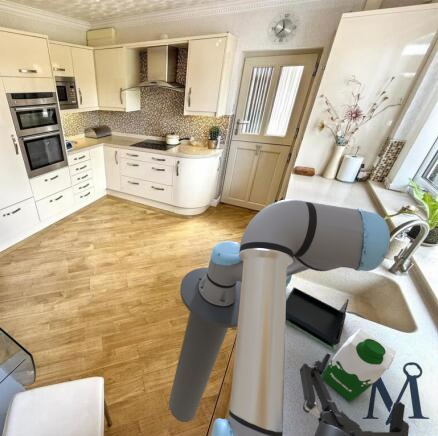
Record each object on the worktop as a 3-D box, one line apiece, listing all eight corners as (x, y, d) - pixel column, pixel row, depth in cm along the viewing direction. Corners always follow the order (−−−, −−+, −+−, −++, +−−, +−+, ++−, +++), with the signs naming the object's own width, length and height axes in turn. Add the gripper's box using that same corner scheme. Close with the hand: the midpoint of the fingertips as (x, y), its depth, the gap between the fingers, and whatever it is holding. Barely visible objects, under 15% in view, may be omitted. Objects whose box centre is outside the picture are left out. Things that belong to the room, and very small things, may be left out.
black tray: (276, 317, 87) (287, 296, 81) (289, 294, 97) (299, 274, 91) (333, 351, 76) (350, 330, 71) (340, 321, 87) (356, 301, 81)
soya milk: (316, 377, 69) (350, 336, 59) (329, 361, 73) (362, 320, 63) (351, 407, 63) (395, 367, 53) (363, 387, 67) (406, 346, 57)
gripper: (262, 407, 52) (297, 348, 64) (418, 556, 36) (424, 439, 49) (273, 390, 48) (308, 331, 61) (453, 548, 32) (449, 424, 45)
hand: (359, 379), depth 55 cm, fingers open, 13 cm apart
